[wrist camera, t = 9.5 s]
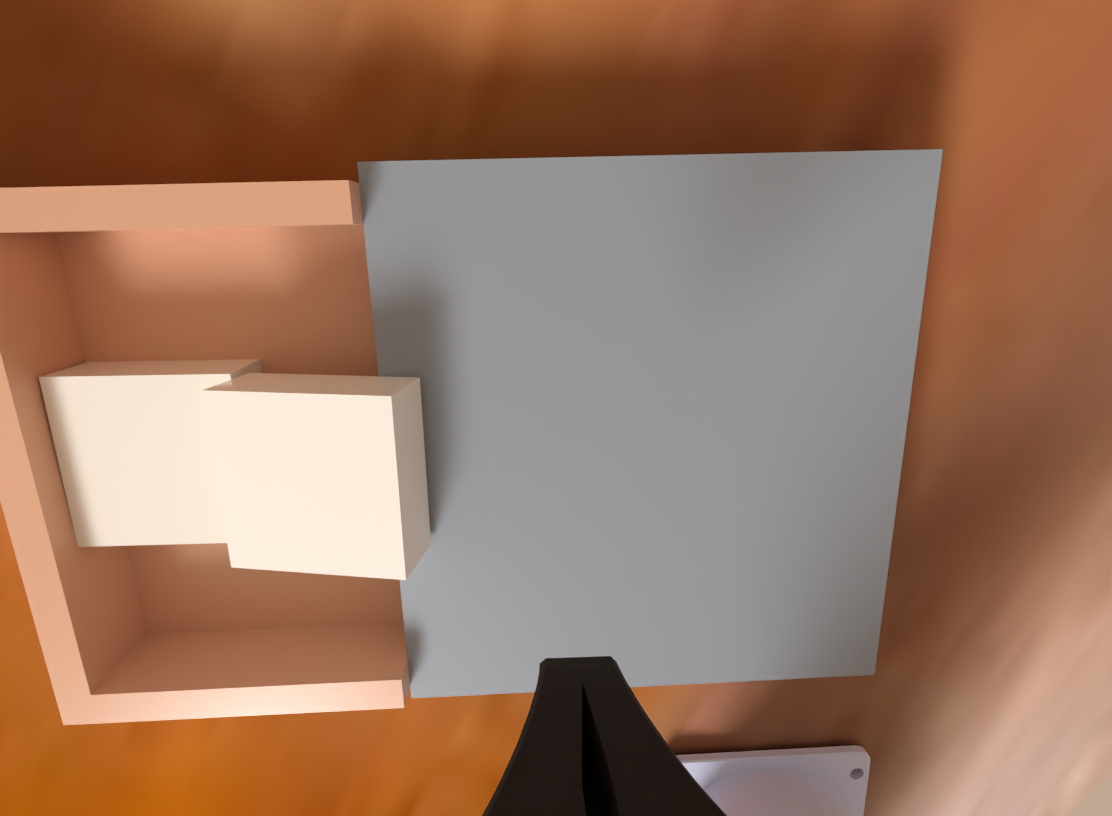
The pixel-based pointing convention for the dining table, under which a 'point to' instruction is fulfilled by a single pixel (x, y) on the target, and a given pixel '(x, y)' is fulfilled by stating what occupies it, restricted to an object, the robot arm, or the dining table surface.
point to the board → (652, 406)
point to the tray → (166, 335)
